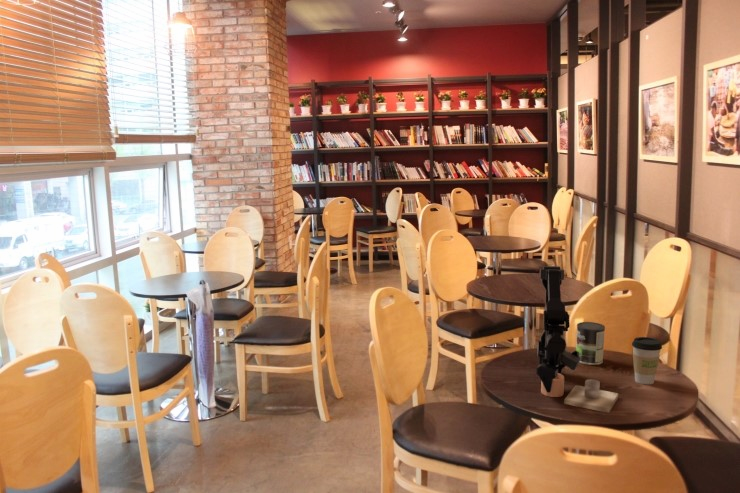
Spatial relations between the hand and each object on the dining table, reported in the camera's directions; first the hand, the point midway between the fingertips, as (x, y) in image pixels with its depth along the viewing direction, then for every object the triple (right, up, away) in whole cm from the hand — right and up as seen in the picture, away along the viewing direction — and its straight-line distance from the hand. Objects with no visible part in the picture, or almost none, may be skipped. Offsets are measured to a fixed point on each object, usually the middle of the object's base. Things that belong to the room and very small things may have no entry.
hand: (552, 387), depth 219 cm
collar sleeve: (0, -2, 0) cm, 2 cm away
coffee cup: (+35, 0, +10) cm, 37 cm away
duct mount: (+11, -3, -7) cm, 13 cm away
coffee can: (+23, +4, +31) cm, 39 cm away
